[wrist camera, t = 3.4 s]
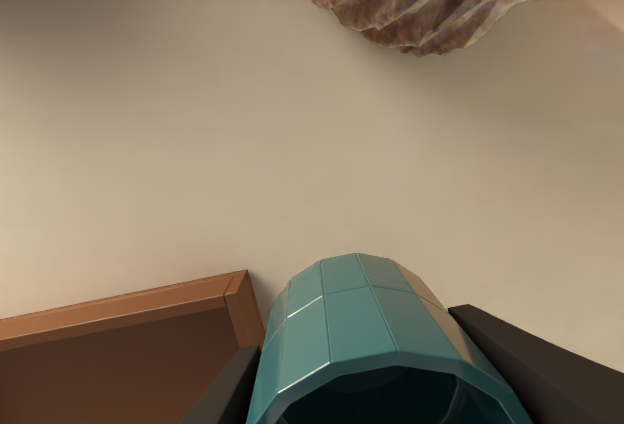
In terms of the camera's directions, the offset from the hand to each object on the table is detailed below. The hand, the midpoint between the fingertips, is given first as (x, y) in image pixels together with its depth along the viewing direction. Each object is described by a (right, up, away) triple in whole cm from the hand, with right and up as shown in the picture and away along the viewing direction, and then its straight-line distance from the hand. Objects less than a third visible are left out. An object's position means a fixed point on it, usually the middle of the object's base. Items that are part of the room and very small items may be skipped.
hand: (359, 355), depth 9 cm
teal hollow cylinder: (0, 0, +1) cm, 1 cm away
